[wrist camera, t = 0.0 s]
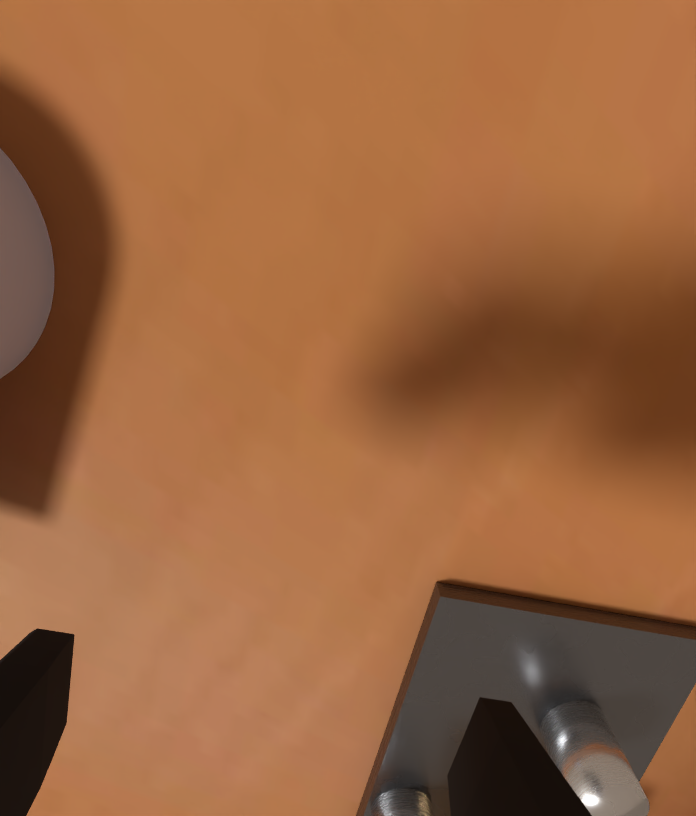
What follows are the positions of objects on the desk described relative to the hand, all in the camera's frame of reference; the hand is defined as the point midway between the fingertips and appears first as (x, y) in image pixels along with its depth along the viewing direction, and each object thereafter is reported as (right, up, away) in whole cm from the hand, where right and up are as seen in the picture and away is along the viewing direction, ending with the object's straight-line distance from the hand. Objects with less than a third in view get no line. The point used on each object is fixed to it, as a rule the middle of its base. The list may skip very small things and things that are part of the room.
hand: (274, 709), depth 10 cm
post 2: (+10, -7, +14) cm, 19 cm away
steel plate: (+8, -9, +15) cm, 19 cm away
